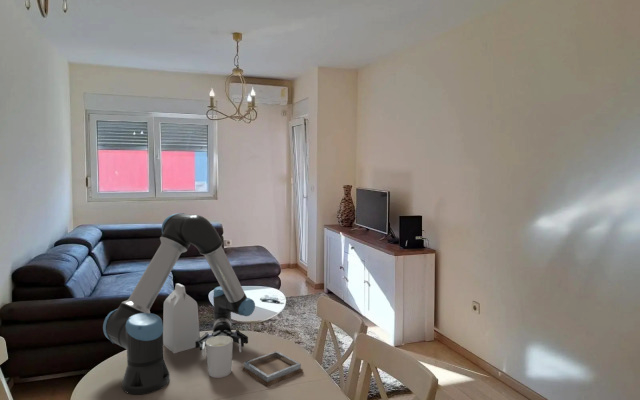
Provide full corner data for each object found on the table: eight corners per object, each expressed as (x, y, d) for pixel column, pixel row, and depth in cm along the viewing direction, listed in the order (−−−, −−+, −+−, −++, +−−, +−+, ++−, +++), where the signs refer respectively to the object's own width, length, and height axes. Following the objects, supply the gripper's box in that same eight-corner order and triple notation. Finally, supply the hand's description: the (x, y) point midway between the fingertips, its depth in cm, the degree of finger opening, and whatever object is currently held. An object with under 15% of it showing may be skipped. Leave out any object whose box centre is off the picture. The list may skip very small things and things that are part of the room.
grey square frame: (267, 382, 146) (267, 377, 146) (244, 367, 157) (243, 362, 157) (300, 368, 156) (300, 363, 156) (276, 355, 167) (276, 350, 167)
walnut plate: (267, 386, 145) (267, 383, 145) (242, 370, 157) (242, 367, 157) (302, 371, 156) (302, 368, 156) (277, 357, 168) (276, 354, 167)
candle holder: (230, 379, 150) (229, 346, 149) (202, 378, 150) (202, 346, 149) (236, 366, 160) (235, 335, 159) (210, 366, 160) (209, 335, 159)
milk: (200, 345, 179) (199, 285, 177) (174, 353, 171) (172, 290, 169) (188, 337, 188) (187, 279, 186) (162, 344, 180) (161, 284, 178)
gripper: (251, 335, 183) (255, 356, 162) (192, 340, 177) (187, 363, 157) (251, 318, 182) (255, 337, 162) (191, 323, 177) (187, 343, 156)
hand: (221, 350), depth 159 cm, fingers open, 13 cm apart
